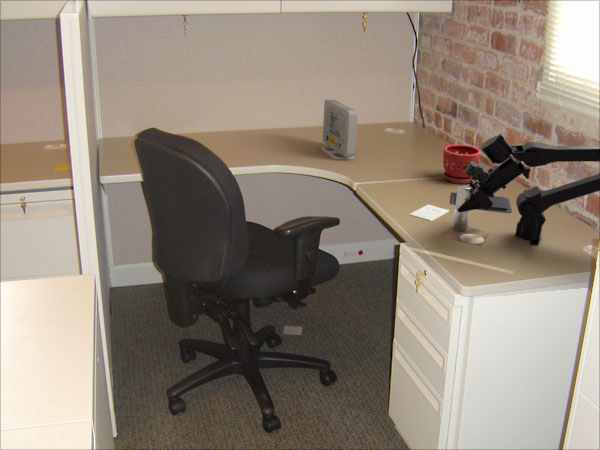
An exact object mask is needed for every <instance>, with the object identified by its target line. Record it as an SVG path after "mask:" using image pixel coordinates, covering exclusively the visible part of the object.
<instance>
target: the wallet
mask: <svg viewBox="0 0 600 450" xmlns="http://www.w3.org/2000/svg"><path fill="white" fill-rule="evenodd" d="M456 197H457V192H450V197H449V205H453V206H455V205H456ZM492 200H493V205H492V207H491V208H490V209H489V210H487V212H496V213H503V214H511V213H512V212H513V211H512V207H511V202H510V198H507V197H505V196H497V195H494V197H492ZM477 210H478V211H486V210H485V209H483V208H482V209H476V211H477Z"/></svg>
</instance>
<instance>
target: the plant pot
mask: <svg viewBox="0 0 600 450" xmlns="http://www.w3.org/2000/svg"><path fill="white" fill-rule="evenodd" d="M481 151H482V150H481V149H479V148H477V147H475V146H473V145H467V144H450V145H449V144H448V145H446V146H445V147H444V149H443V156H442V159H443V160H442V163H443V168H444V172H443V173H442V174H443V178H444V179H446V181H449V182H451V183H455V184H468V183H469V184H470V179H471V180H472V178H471V176H468V175H467V174H466V173H465V169H466V168H467V166H468V165H469V163H470V162H471V161H473V162H475V163H477V164H478V165H480V164H479V163H480V158H481ZM472 181H474V179H473V180H472Z"/></svg>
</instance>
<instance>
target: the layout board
mask: <svg viewBox="0 0 600 450" xmlns="http://www.w3.org/2000/svg"><path fill="white" fill-rule="evenodd" d="M452 227H453V225H452V226H451V228H449V230H448V231H447V232H446V233H445V234H444V235H443V237H442V239H446V240H447V239H448V240H450V241H451V240H452V241H456V242H461V243H465V244H471V245H474V246H479V247H482V245H483V244H484V243H485V241H486V240H487V238H488V237H489V235H490V234H491V231H489V230H483V229H478V228H474V227H469V226H468V229H467V231H466V232H457V231H454V230H453V229H452Z"/></svg>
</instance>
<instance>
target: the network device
mask: <svg viewBox="0 0 600 450" xmlns="http://www.w3.org/2000/svg"><path fill="white" fill-rule="evenodd" d="M323 109H324V110H323V124H322V125H323V127H322V141H323V143H324V144H325V145H322V146H321V148H320V149H321V150H322V151H323V152H324V153H326V154H328V155H329V156H331V158H333V159H335V160H339V161H340V160H352V159H355V156H356V150H357V148H356V147H357V135H358V134H357V133H358V120H359V119H358V118H359V113H358V111H357V110H356V109H354V108H352V107H350V106H348V105H345V104H344V103H342V102H340V101H338V100H336V99H324V105H323ZM331 148H332V149H333V150H328V149H331ZM336 155H342V156H343V157H342V156H340V157H339V156H336Z"/></svg>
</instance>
